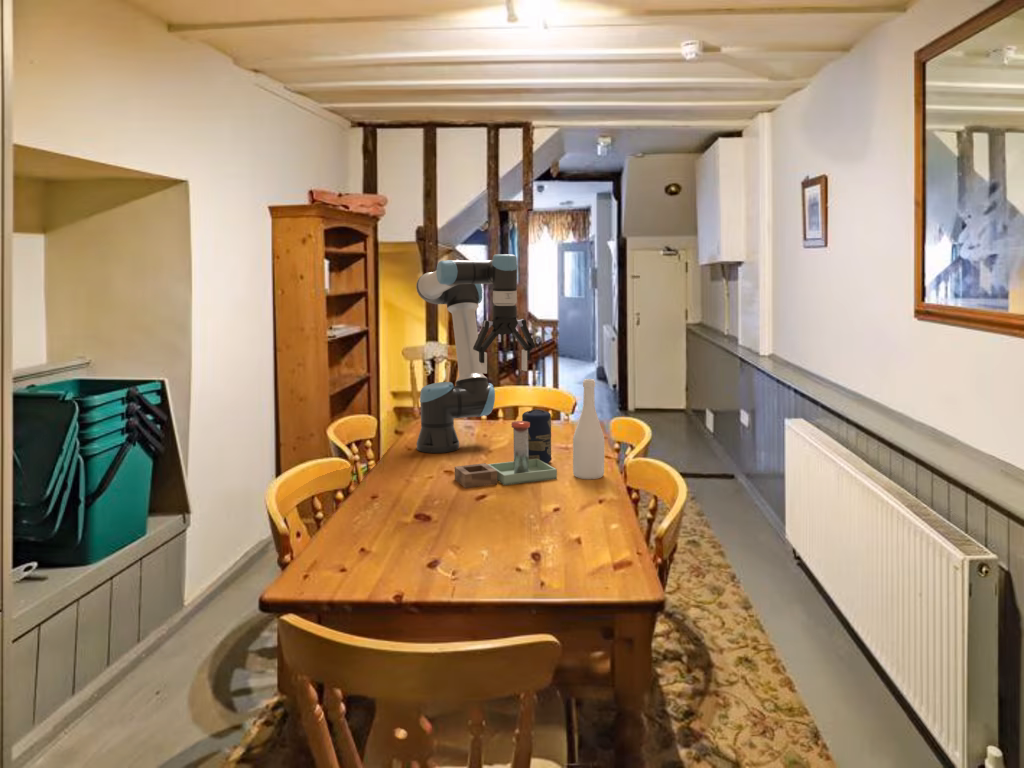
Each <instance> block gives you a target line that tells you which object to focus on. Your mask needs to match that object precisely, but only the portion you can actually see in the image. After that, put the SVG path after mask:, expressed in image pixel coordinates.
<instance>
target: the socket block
mask: <svg viewBox="0 0 1024 768" xmlns="http://www.w3.org/2000/svg"><path fill="white" fill-rule="evenodd" d="M487 464H488V463H486V462H485V463H477V464H476V463H475V464H466V465H457V466H454V480H455V481H456V482H457V483H459V484H460V485H461V486H463V488H465V489H469V488H477V487H478V488H479V487H485V486H492V485H493V486H494V485H498V481H497V471H496V470H495V469H493V468H492V467H490V466H489V465H487Z"/></svg>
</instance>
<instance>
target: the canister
mask: <svg viewBox="0 0 1024 768" xmlns="http://www.w3.org/2000/svg"><path fill="white" fill-rule="evenodd" d="M521 418H522V420H521V421H527V422H530V427H529V428H528V457H529V460H530V459H539V460H541V461H543V462H544V463H546V464H549V463H550V462H551V461H552V414H551V413H550V412H549V411H546V410H543V409H537V408H536V409H535V408H534V409H532V410H531V409H530V410H528V411H525V412H523V413H522V415H521Z"/></svg>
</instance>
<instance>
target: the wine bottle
mask: <svg viewBox="0 0 1024 768" xmlns="http://www.w3.org/2000/svg"><path fill="white" fill-rule="evenodd" d="M582 387H583V399H582V400H583V403H582V404H583V405H582V408H581V409H582V411H581V413H580V416H579V418H578V421H577V422H578V423H577V425H576V427H575V430H574V434H573V437H572V440H573V441H572V472H573V475H574V477H576V478H579V479H580V480H597V479H600V478H602V477H603V476H604V474H605V436H604V432H603V429H602V427H601V426H602V425H601V422H600V420H599V417H598V414H597V411H596V406H595V401H596V400H595V387H596V381H595V379H593V378H585V379H583V380H582Z"/></svg>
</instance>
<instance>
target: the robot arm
mask: <svg viewBox="0 0 1024 768" xmlns="http://www.w3.org/2000/svg"><path fill="white" fill-rule="evenodd" d="M517 259H518V258H517V256H516V255H515V254H506V253H504V254H502V253H501V254H498V253H497V254H496V253H495V254H494V255H493V256H492V259H486V260H485V259H483V260H482V259H480V260H479V259H476V260H474V259H472V260H467V259H466V260H460V259H459V260H458V259H457V260H456V259H455V260H452V259H447V260H440V261H438V263H437V266H436V270H435V271H433V272H432V271H431V272H428V271H427V272H426V273H424V274H422V275H421V276H420V277H419V278H418V279H417V282H416V286H415V288H416V293H418V296H419V297H420V298H421V299H422V300H423V301H426V302H427V303H429V304H434V305H446V310H447V312H449V313H451V316H452V324H453V333H454V335H453V336H454V341H455V343H454V344H455V349H456V350H455V353H456V359H457V360H456V361H457V369H458V378H457V379H456V381H455V385H454V383H453V382H451V381H443V382H441V381H440V382H434V383H431V384H427V385H424V386H422V388H421V389H420V396H419V402H420V431H419V434H418V437H417V441H416V450H417V451H419V452H422V453H429V454H430V453H431V454H444V453H450V452H454V451H457V450H459V449H460V441H459V438H458V436H457V435H458V434H457V432H456V428H455V424H454V419H462V418H463V419H464V418H475V417H477V418H480V417H483V416H485V417H487V416H489V415H490V414H491V413H492V412H493V409H494V407H495V406H494V405H495V401H496V391H495V388H494V385H493V384H492V383H490V382H489V380H488V377H487V376H485V375H484V374H488V352H486V351H487V349H488V348H489V347H490V346H491V344H492V343H493V341H495V339H496V338H497V337H498V336H499V335H501V336H503V335H512V336H513V337H514V338H515V340H516V341H517V342H518V343H519V344H520V345H521V347H522V348H523V349H521V371H523V372H528V361H530V357H531V356H530V355H531V354H530V351H532V349H535V348H536V344H535V341H534V340H533V337H532V335H531V333H530V330H529V328H528V326H527V320H526V319H524V318H520V319H518V318H517V314H518V309H517V308H518V307H517V305H516V304H517V302H518V300H517V299H518V296H517V295H518V293H517V292H518V291H517V290H518V289H517V288H518V260H517ZM482 285H492V303H493V306H492V320H483V321H482V328H481V330H480V332H479V331H478V325H477V316H476V311H477V309H478V308H479V304H480V303H481V302H482V300H483V286H482ZM517 326H519V327H520V330H521V332H522V333H523V336H524V337H522V336H521V334H520V333H519V331H518V330H517V329H516V328H517ZM491 327H493V329H492V330H491V332H490V334H489V335H487V334H488V331H489V329H490V328H491ZM478 332H479V334H478ZM486 336H487V337H486ZM485 338H486V339H485ZM524 338H525V339H524Z"/></svg>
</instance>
